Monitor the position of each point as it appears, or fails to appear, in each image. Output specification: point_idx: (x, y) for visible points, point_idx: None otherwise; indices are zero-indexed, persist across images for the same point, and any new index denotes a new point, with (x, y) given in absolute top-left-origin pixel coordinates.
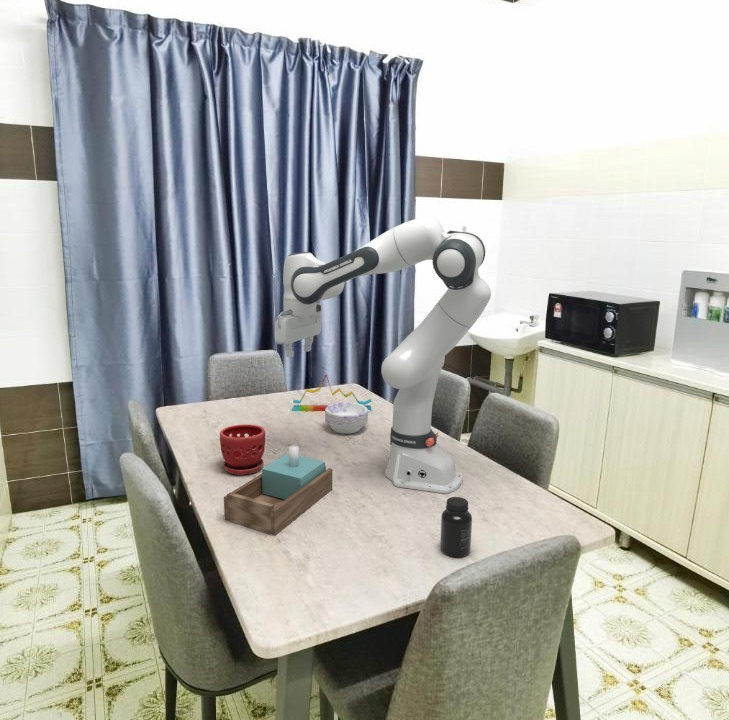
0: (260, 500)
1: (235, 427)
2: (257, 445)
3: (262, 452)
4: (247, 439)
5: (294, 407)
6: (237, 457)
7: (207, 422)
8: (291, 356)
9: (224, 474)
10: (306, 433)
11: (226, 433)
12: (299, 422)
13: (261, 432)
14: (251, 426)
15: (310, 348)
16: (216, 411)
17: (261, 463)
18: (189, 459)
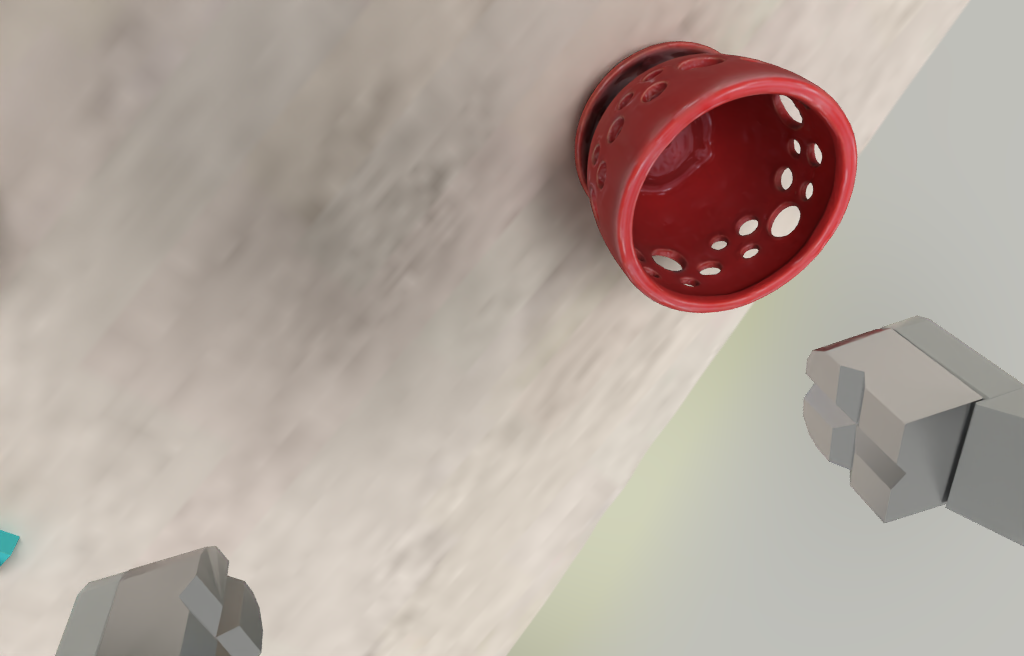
0: None
1: (688, 295)
2: (739, 60)
3: (664, 64)
4: (818, 86)
5: (3, 553)
6: (775, 106)
7: (429, 577)
8: (922, 321)
9: None
10: (130, 276)
11: (726, 286)
12: (74, 413)
13: (709, 107)
14: (635, 252)
15: (93, 621)
16: (335, 646)
17: (623, 72)
18: (699, 343)
